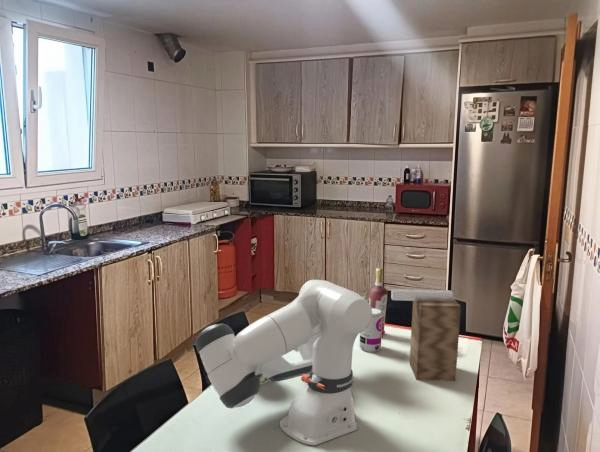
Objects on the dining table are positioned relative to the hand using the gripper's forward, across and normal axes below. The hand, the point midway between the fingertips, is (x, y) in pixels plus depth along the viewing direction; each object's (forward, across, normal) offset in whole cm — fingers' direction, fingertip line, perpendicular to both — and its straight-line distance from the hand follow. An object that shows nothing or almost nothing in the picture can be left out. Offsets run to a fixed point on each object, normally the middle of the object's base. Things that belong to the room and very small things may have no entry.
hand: (367, 302), depth 169 cm
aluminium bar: (+16, 0, -8) cm, 18 cm away
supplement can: (-9, -19, -23) cm, 31 cm away
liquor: (-5, -33, -26) cm, 42 cm away
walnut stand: (+8, +1, -32) cm, 33 cm away
